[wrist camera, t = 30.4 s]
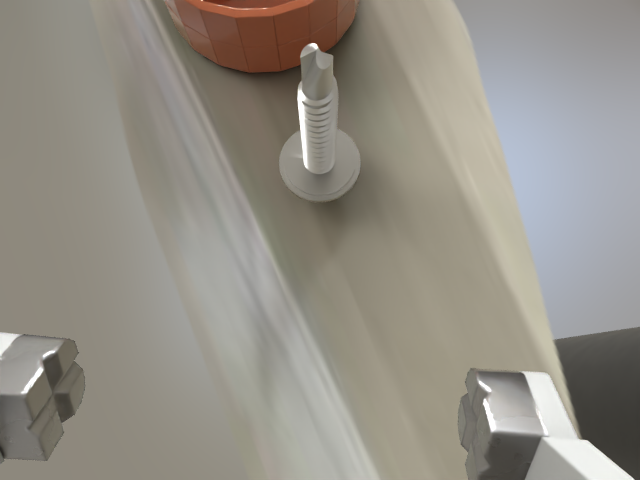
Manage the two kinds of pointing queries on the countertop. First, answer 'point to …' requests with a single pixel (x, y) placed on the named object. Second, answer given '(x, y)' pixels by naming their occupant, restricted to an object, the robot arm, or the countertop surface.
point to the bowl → (260, 29)
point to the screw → (319, 136)
